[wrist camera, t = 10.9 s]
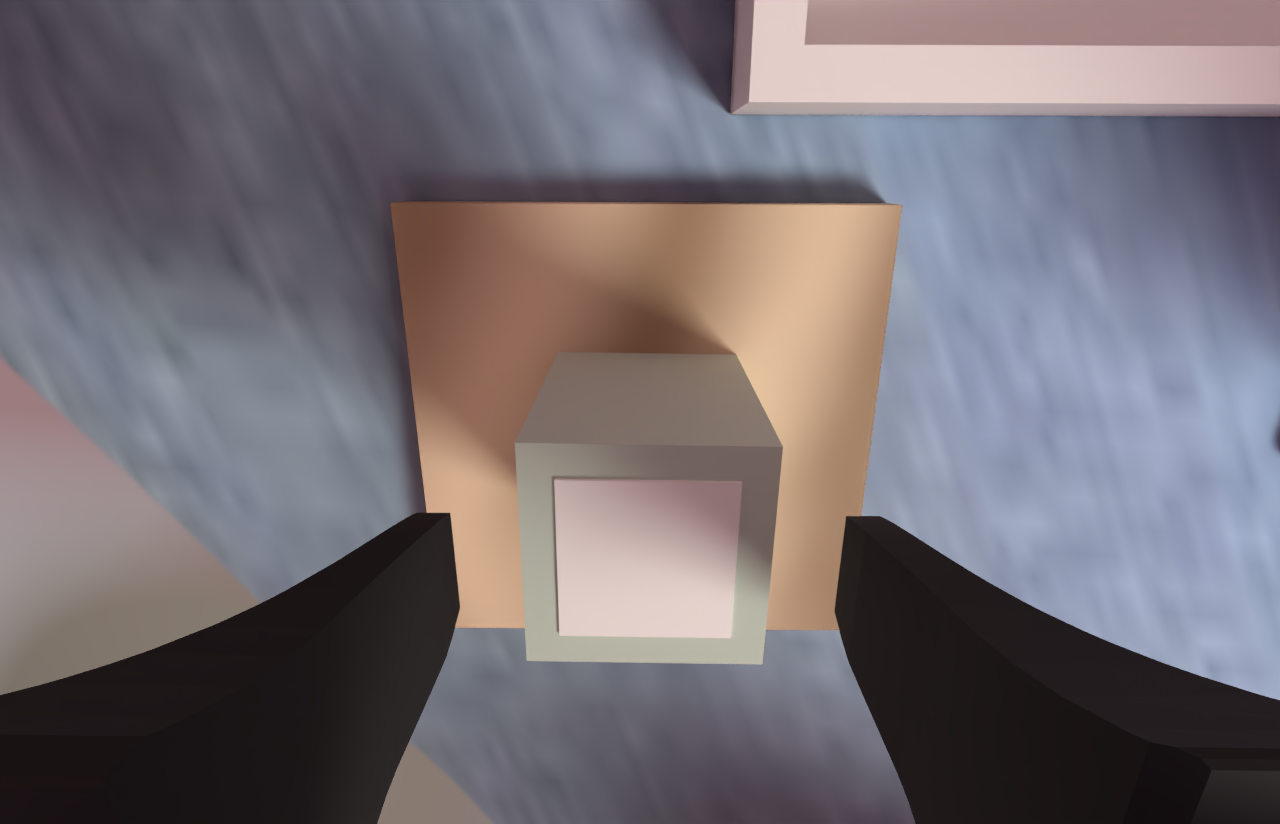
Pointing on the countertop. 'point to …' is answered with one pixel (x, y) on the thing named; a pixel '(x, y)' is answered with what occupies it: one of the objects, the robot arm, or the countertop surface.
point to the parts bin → (1007, 57)
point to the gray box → (647, 510)
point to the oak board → (644, 323)
